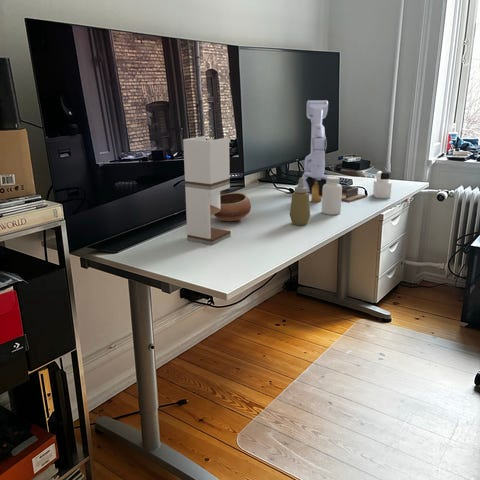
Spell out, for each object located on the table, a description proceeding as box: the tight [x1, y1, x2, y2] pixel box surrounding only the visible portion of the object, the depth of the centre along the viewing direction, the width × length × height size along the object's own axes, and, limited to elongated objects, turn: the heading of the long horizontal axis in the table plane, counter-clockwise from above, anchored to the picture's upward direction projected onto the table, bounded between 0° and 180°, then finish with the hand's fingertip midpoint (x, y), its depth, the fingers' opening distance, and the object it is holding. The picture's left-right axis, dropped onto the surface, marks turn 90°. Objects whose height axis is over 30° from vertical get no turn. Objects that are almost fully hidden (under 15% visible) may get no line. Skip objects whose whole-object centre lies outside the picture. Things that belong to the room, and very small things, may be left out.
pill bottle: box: [321, 176, 342, 216], centre depth 203 cm, size 8×8×15 cm
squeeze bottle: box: [289, 177, 311, 226], centre depth 187 cm, size 8×8×18 cm
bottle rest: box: [340, 184, 367, 203], centre depth 232 cm, size 16×14×4 cm
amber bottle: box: [310, 179, 322, 203], centre depth 223 cm, size 5×5×10 cm
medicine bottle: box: [372, 170, 392, 199], centre depth 232 cm, size 7×7×12 cm
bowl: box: [212, 192, 252, 222], centre depth 194 cm, size 16×16×10 cm
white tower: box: [182, 135, 231, 246], centre depth 168 cm, size 11×11×35 cm
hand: (316, 194), depth 224 cm, fingers closed on amber bottle, 5 cm apart
